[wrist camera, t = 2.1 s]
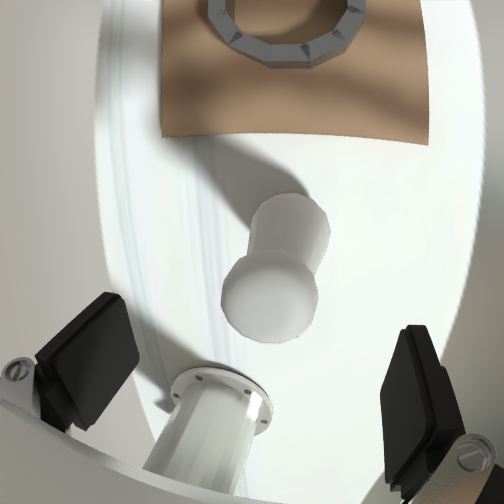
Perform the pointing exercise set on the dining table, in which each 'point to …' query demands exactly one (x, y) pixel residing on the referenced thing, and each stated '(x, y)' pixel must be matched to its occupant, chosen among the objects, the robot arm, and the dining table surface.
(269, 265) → the salt shaker
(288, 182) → the dining table surface
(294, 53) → the collar
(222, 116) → the board
